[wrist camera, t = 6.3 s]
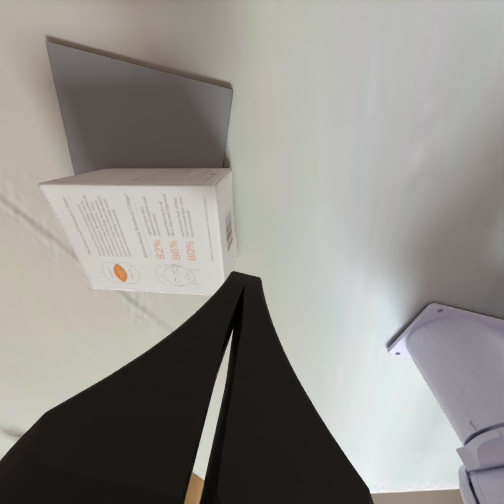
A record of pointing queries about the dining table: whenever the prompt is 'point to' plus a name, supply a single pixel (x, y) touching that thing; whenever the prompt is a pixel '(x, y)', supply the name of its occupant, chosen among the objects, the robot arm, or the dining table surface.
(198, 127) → the mat
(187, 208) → the small box
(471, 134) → the dining table surface
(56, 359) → the dining table surface
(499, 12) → the dining table surface
